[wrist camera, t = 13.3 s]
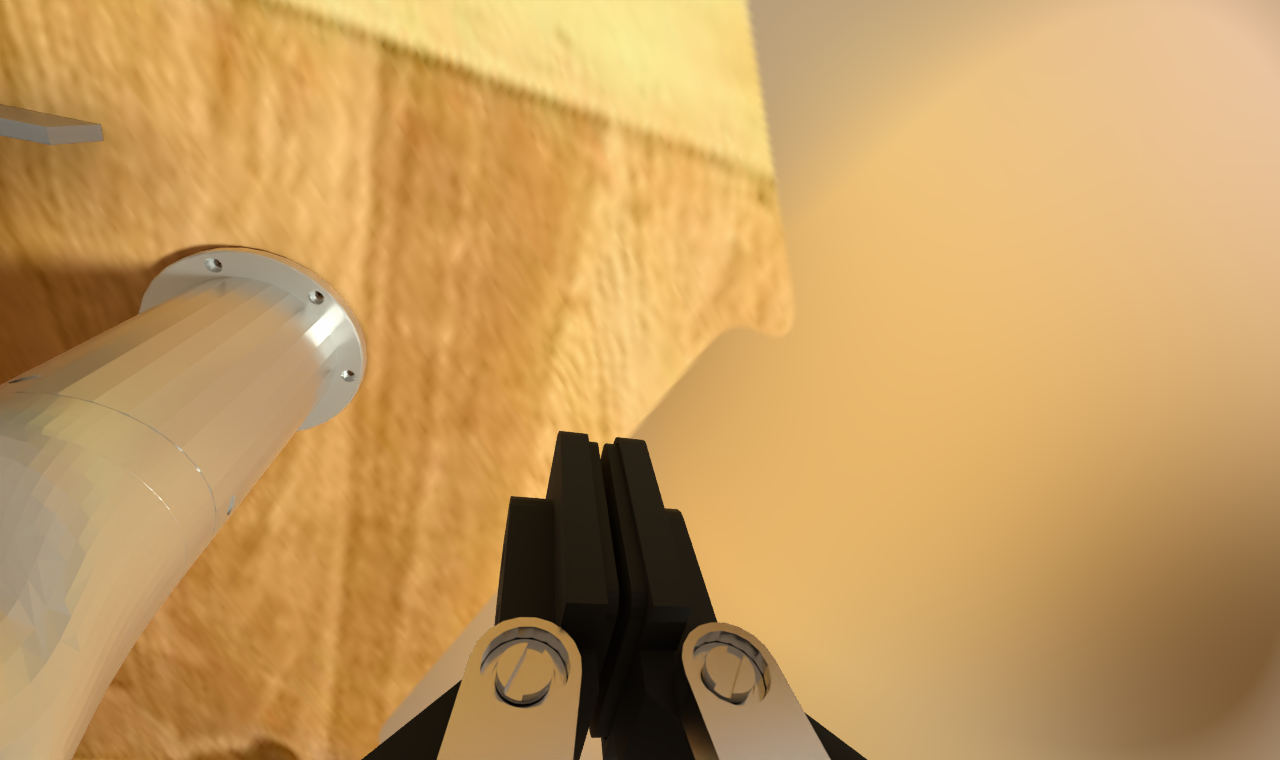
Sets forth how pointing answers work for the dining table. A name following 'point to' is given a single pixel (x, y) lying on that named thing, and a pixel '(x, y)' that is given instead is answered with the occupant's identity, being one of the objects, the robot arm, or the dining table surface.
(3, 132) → the box
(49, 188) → the dining table surface
